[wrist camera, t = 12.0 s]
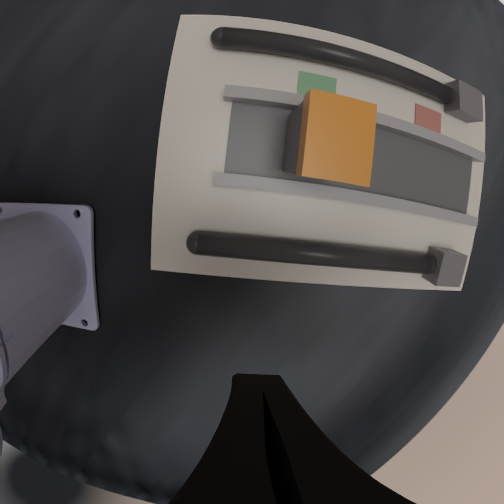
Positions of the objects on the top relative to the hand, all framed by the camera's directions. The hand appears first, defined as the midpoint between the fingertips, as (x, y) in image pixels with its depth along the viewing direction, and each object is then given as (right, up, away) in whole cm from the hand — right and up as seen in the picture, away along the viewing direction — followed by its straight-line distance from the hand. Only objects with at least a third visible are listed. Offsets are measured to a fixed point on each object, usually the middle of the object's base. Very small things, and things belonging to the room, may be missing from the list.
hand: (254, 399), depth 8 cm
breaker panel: (+5, +10, +8) cm, 13 cm away
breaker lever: (+3, +9, +6) cm, 11 cm away
